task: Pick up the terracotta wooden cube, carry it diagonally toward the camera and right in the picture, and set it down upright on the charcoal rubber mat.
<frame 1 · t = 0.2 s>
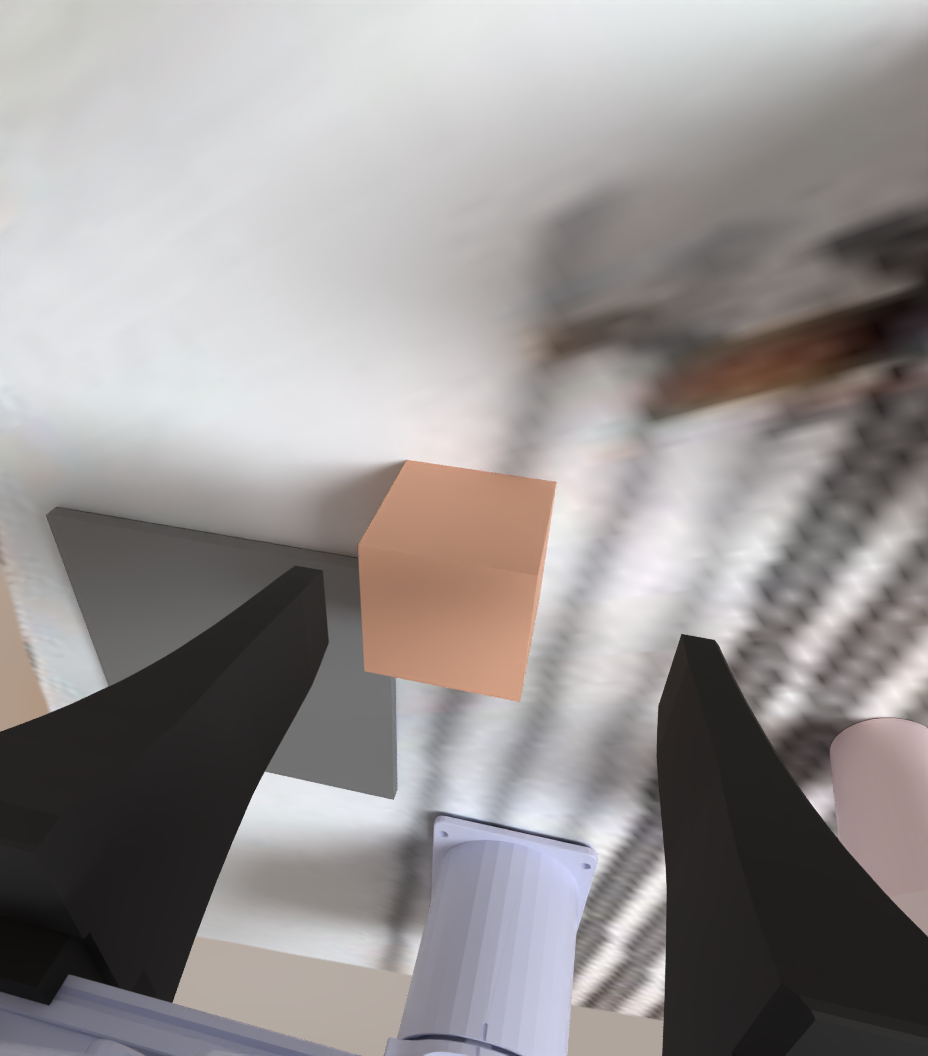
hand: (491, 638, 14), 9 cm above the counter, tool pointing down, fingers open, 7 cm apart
cube: (476, 531, 24), on the counter
mat: (243, 662, 31), on the counter
smoothie: (882, 747, 26), on the counter
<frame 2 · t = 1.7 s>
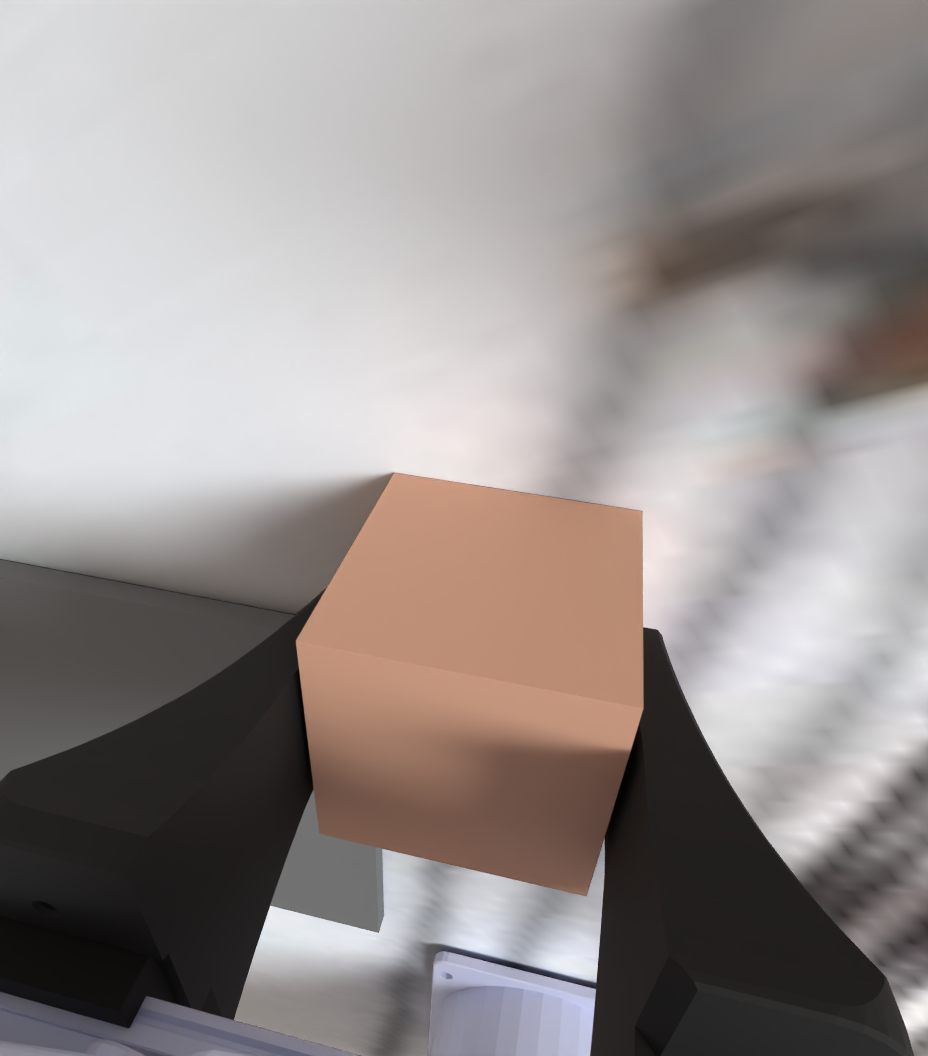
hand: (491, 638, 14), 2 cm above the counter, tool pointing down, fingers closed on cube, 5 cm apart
cube: (504, 587, 15), on the counter, touching gripper
mat: (166, 752, 22), on the counter
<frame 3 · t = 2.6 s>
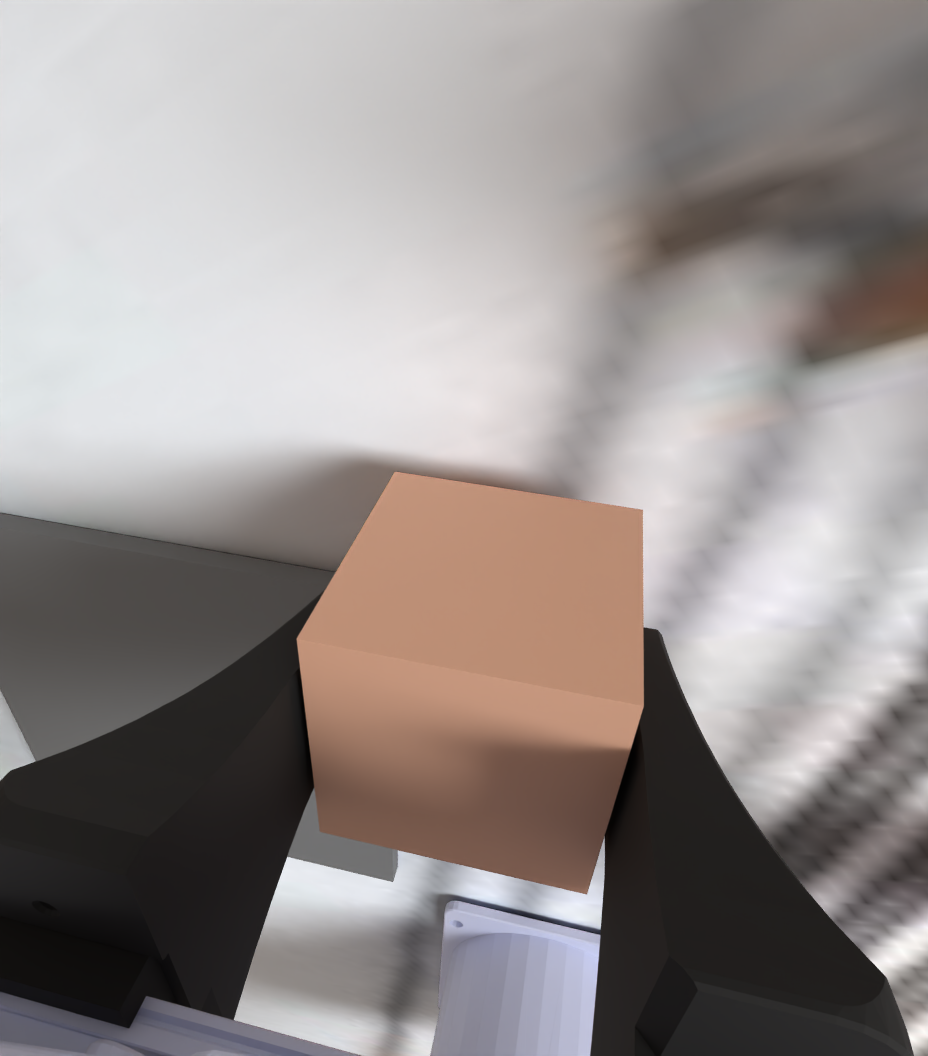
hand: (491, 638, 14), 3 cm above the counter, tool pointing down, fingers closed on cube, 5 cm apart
cube: (504, 586, 15), point 2 cm above the counter, touching gripper
mat: (194, 708, 23), on the counter
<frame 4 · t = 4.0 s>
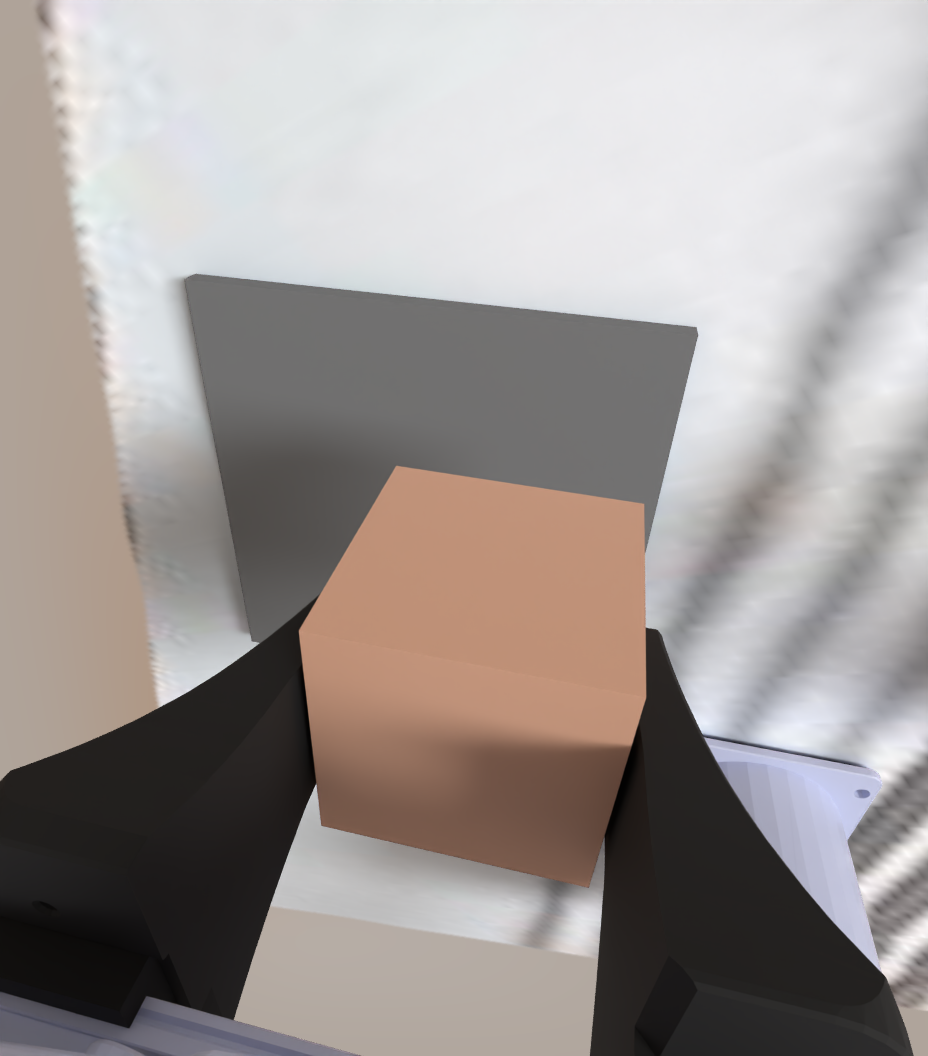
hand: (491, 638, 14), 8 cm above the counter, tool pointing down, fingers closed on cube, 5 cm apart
cube: (506, 581, 15), point 7 cm above the counter, touching gripper
mat: (429, 512, 23), on the counter
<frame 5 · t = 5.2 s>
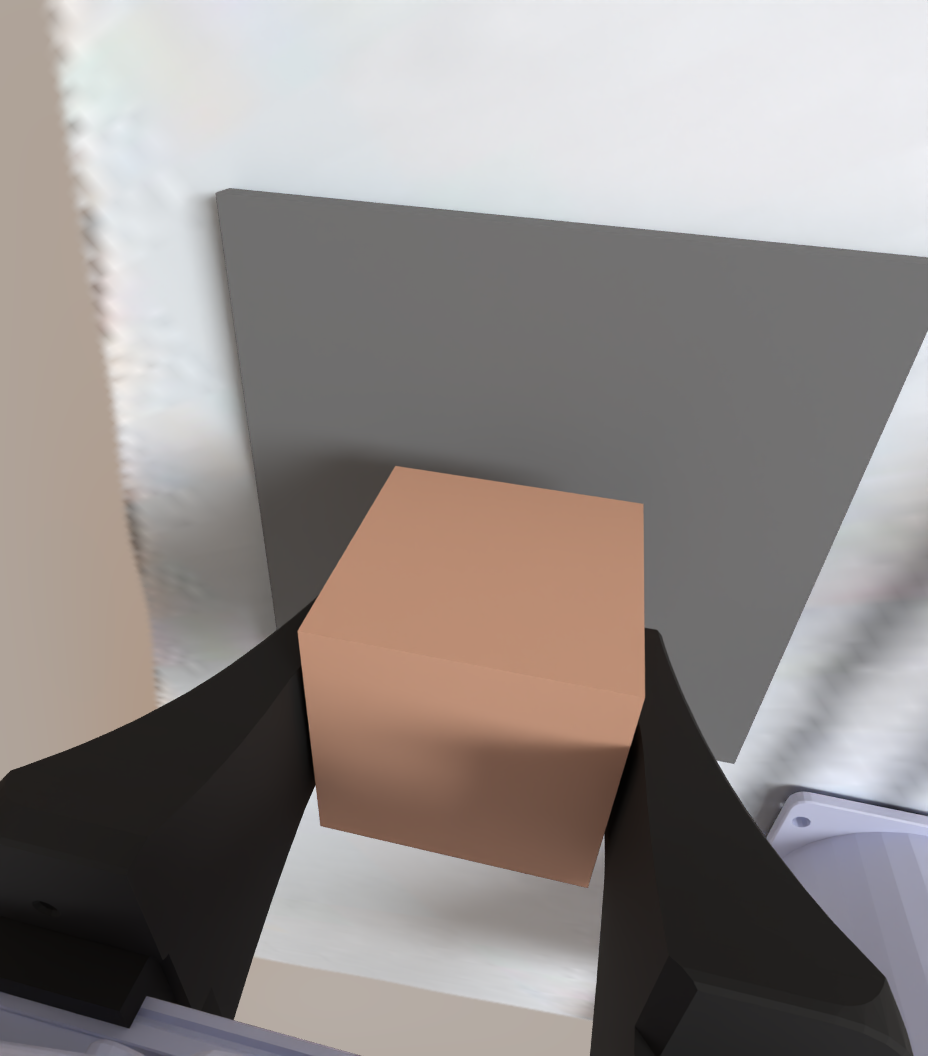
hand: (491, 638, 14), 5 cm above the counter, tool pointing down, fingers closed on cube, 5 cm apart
cube: (505, 581, 15), point 3 cm above the counter, touching gripper
mat: (524, 516, 18), on the counter
when the fingers open (3 cm above the counter, at t = 6.0 s): cube stays where it is, resting on mat.
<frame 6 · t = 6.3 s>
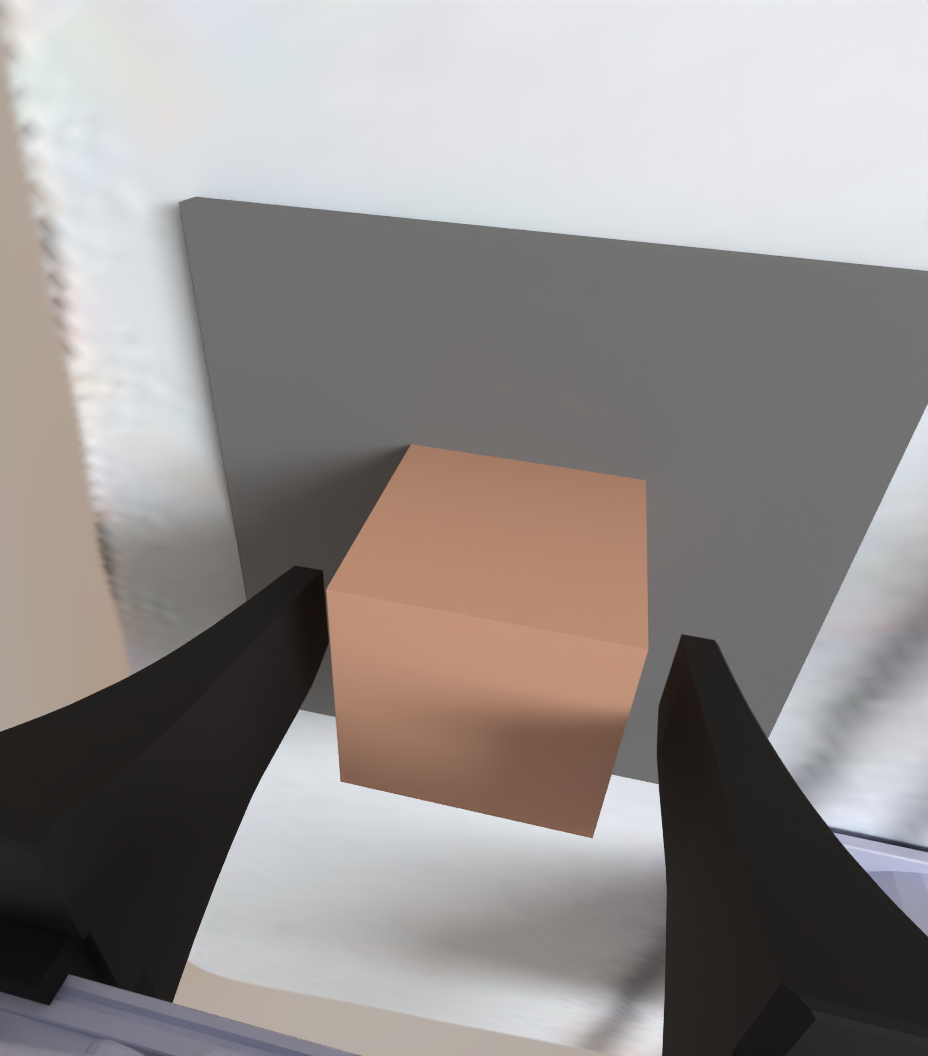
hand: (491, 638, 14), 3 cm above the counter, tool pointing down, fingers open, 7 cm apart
cube: (514, 555, 16), point 1 cm above the counter, touching mat
mat: (515, 543, 17), on the counter
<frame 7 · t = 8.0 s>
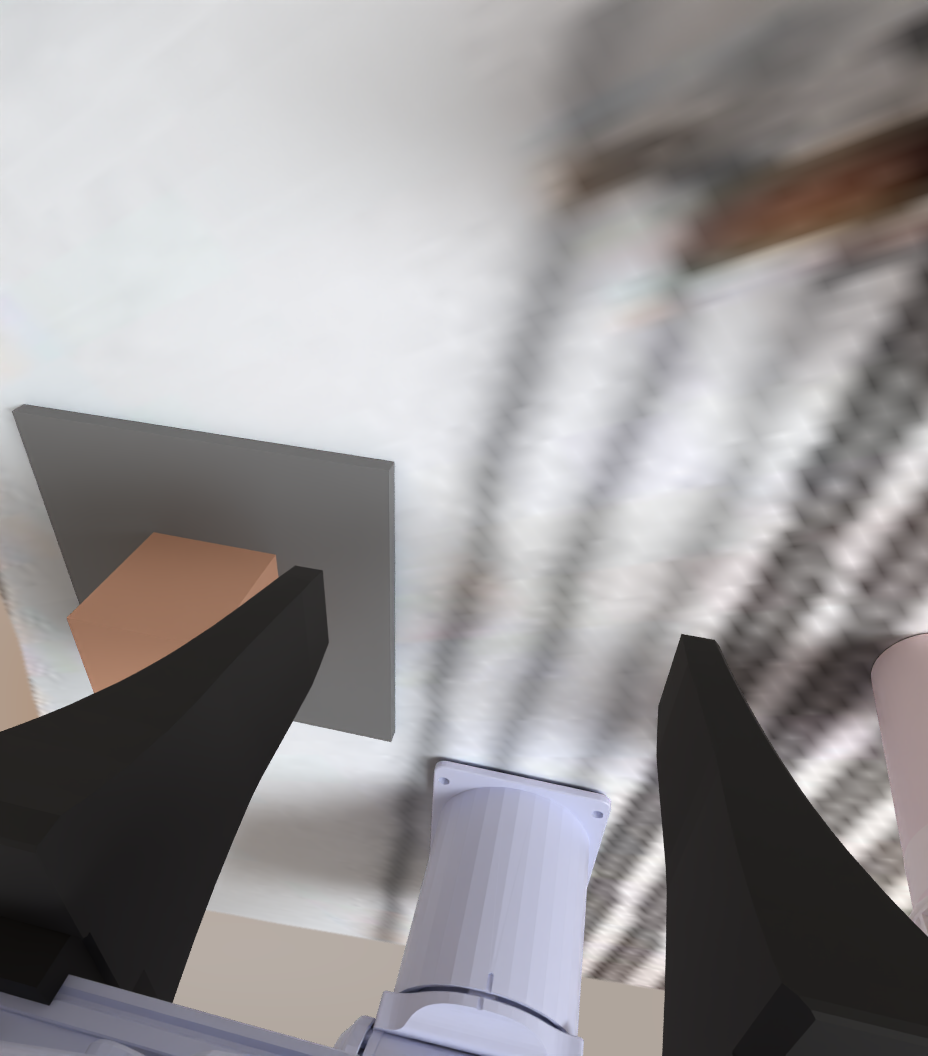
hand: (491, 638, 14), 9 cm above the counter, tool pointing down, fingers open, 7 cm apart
cube: (223, 593, 28), point 1 cm above the counter, touching mat
mat: (229, 585, 28), on the counter
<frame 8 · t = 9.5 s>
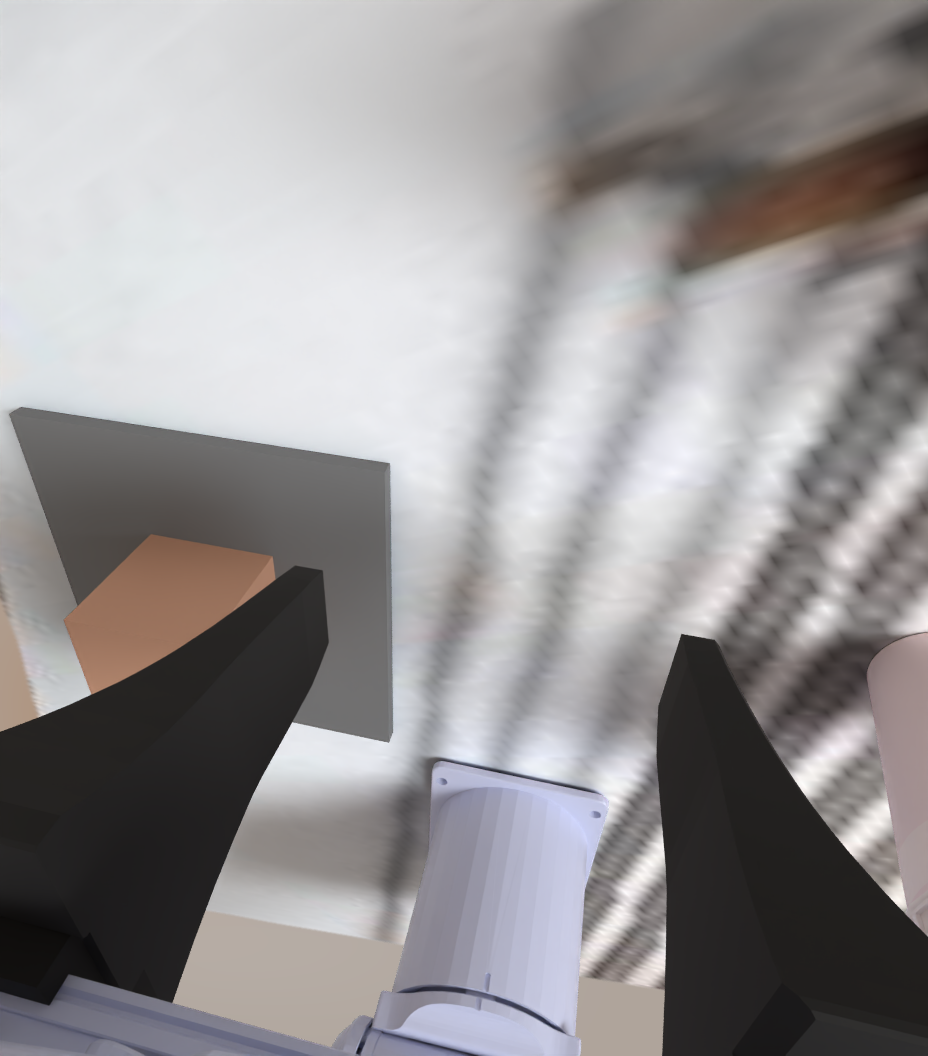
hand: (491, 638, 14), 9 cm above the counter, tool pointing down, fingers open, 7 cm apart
cube: (220, 594, 28), point 1 cm above the counter, touching mat
mat: (227, 587, 28), on the counter
smoothie: (925, 668, 24), on the counter
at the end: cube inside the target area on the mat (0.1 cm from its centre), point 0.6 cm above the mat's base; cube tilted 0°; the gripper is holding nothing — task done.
